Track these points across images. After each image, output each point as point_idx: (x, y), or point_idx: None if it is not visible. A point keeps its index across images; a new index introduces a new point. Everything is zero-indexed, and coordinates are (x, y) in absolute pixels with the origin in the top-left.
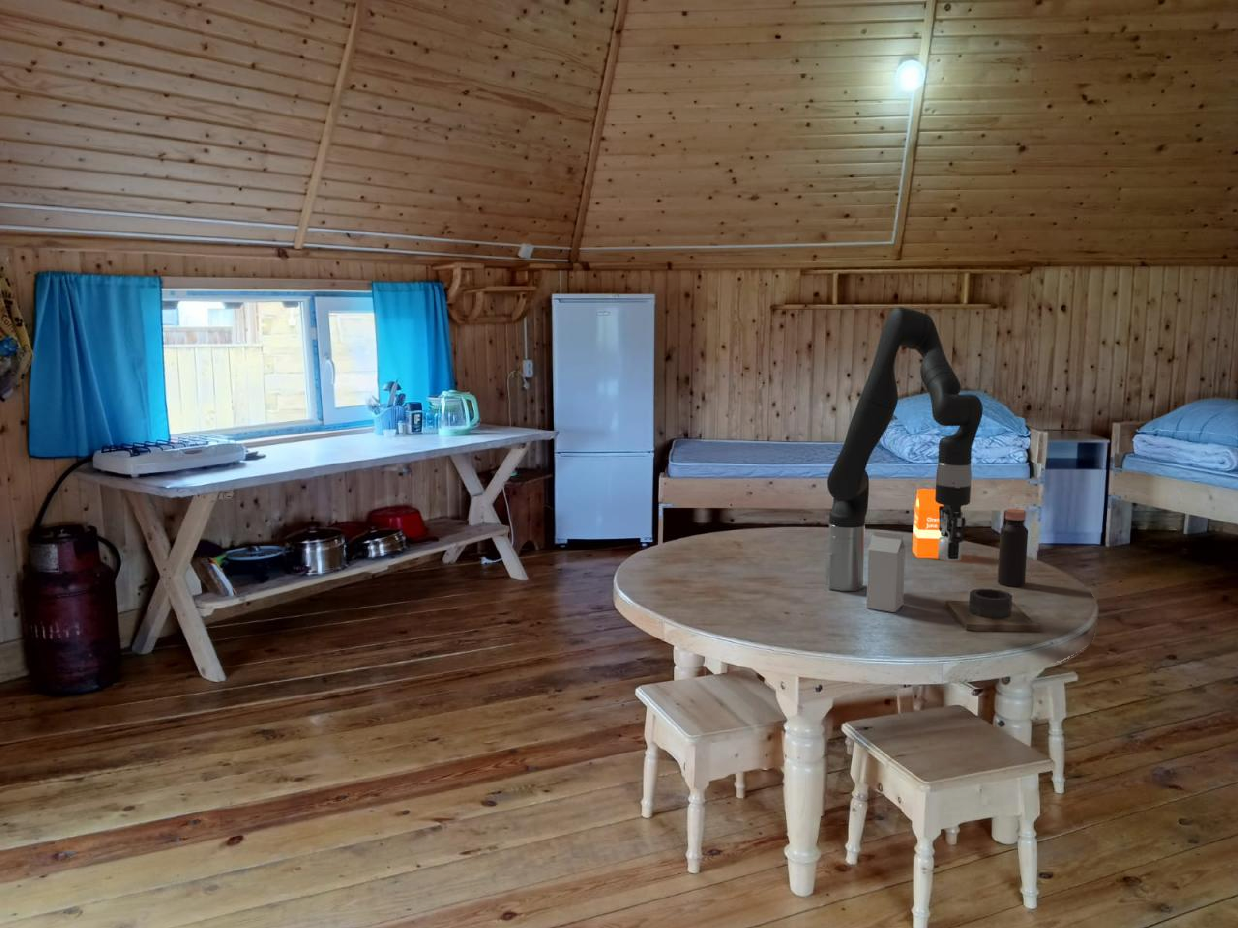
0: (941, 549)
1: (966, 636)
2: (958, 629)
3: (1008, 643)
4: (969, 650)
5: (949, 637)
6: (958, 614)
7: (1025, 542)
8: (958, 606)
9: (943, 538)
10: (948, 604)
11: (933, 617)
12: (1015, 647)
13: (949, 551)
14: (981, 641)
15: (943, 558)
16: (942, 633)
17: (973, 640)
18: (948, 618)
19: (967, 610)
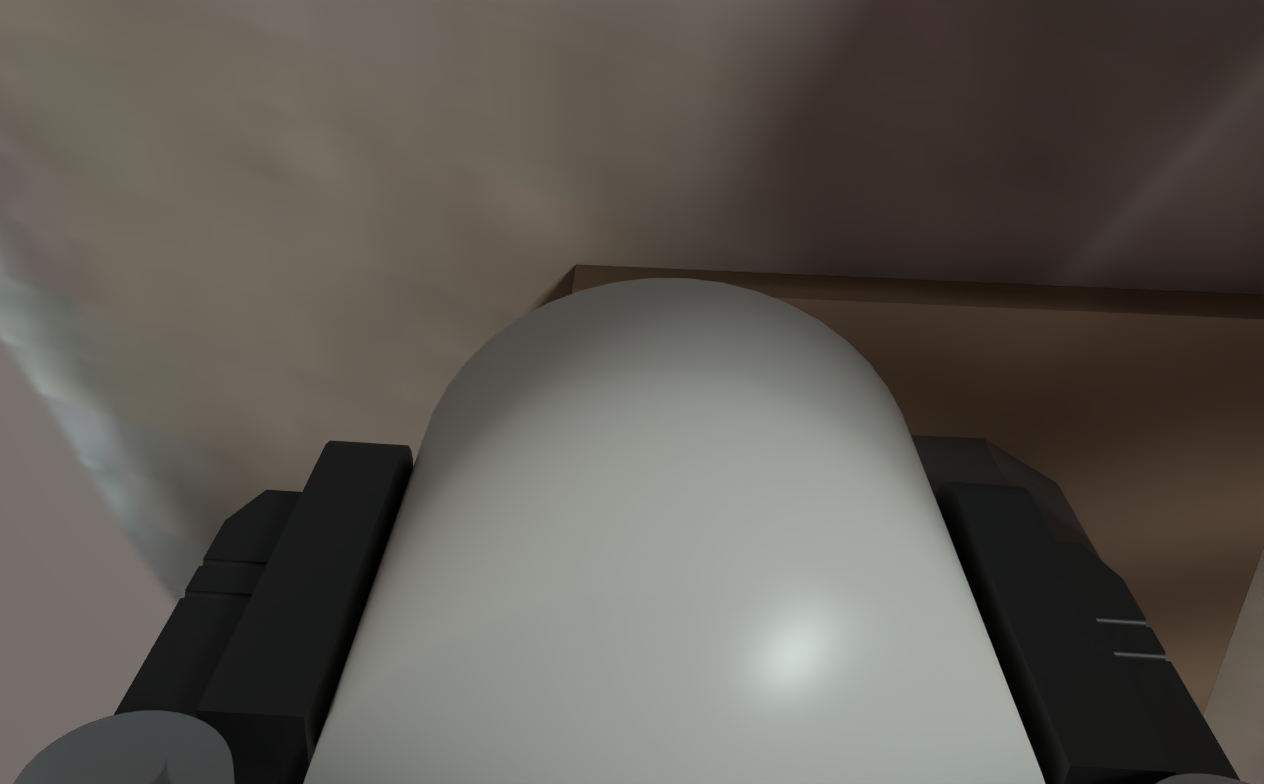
0: (535, 420)
1: (407, 211)
2: (606, 202)
3: (267, 482)
4: (11, 112)
5: (360, 38)
6: (875, 306)
7: None
8: (1123, 384)
9: (740, 719)
10: (1224, 315)
11: (991, 69)
12: (179, 499)
13: (288, 552)
14: (284, 296)
15: (488, 348)
16: (477, 4)
17: (302, 237)
18: (940, 212)
19: (986, 424)
